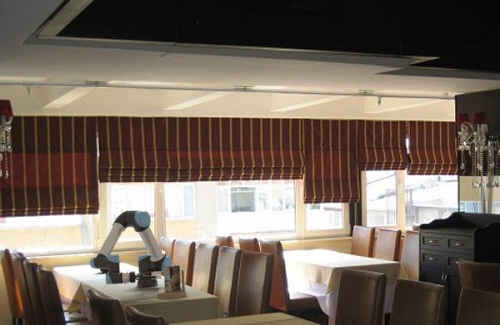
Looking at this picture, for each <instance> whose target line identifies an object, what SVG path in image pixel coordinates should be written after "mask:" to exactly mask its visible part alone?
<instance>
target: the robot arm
mask: <svg viewBox="0 0 500 325" xmlns="http://www.w3.org/2000/svg"><path fill="white" fill-rule="evenodd" d="M151 221H152V220H151V215H150V213H149V212H148V211H147V210H142V209H138V210H135V209H132V210H124V211H122V212H121V213H119V215H117V217H116V218H115V220H114V221H113V223H112V227H111V228H110V231H109V232H108V235H107V237H106V238H105V240H104V242H103V244H102V246H101V247H100V250H99V251H98V253H97V255H96V256H94V257H91V259H90V260H89V265H90V267H91V268H92V269H96V270H100V269H108V272H105V284H106V285H120V284H124V285H126V284H129V283H130V284H133V283H135V284H136V287H138V288H149V287H155V286H158V285H159V283H158V280H160V279H161V280H162V273H164V267H166V266H173V258H172V256H170V255H167V254H166V252H165V251H164V250H162V249H161V246H160V244H159V243H158V241H157V239H156V237H155V235H154V233H153V231H152V230H151V227H150V226H151ZM127 228H132V229H134V231H135V233H137V234H138V235H139V237H140V238H141V240H142V243H143V244H144V246H145V248H146V250H147V251H148V253H147V254H146V253H145V254H141V255H139V256H137V260H138V261H137V263H138V273H136V271H134V270H133V271H121V269H120V268H121V267H120V266H121V265H120V256H119V255H118V254H112V252H113V249H114V248H115V246H116V245H117V243H118V241H119V239H120V237H121V236H122V233H123V232H125V231H126V229H127ZM136 281H137V282H136Z"/></svg>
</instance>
